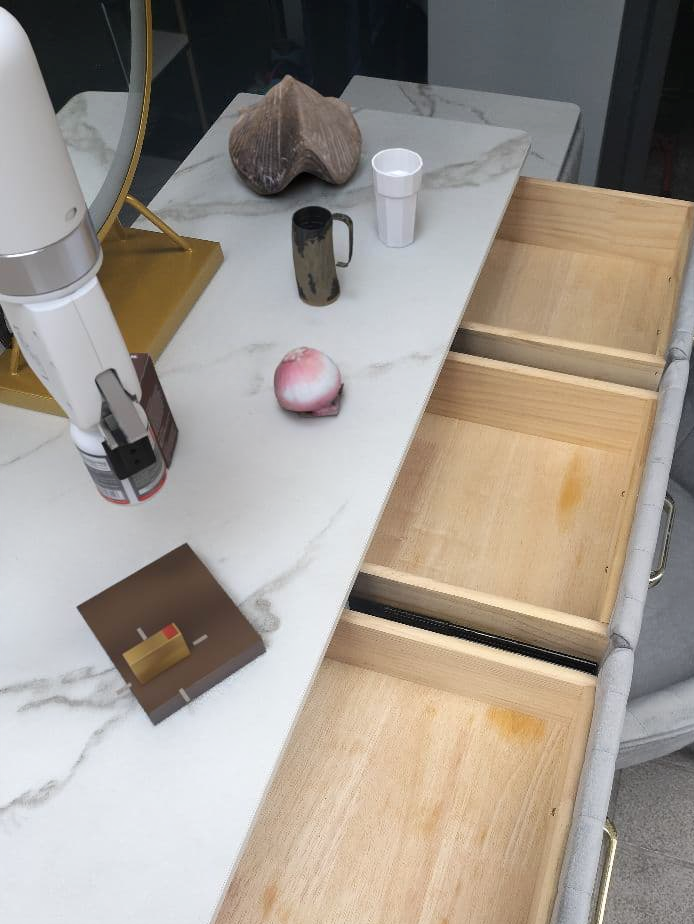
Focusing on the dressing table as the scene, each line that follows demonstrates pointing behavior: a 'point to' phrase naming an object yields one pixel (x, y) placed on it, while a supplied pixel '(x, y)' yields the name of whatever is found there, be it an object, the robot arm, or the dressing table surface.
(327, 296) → the mug
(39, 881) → the dressing table surface
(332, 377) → the onion
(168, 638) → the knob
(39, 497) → the dressing table surface
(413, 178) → the cup
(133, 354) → the box
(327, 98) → the seashell
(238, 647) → the panel
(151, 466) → the pill bottle
